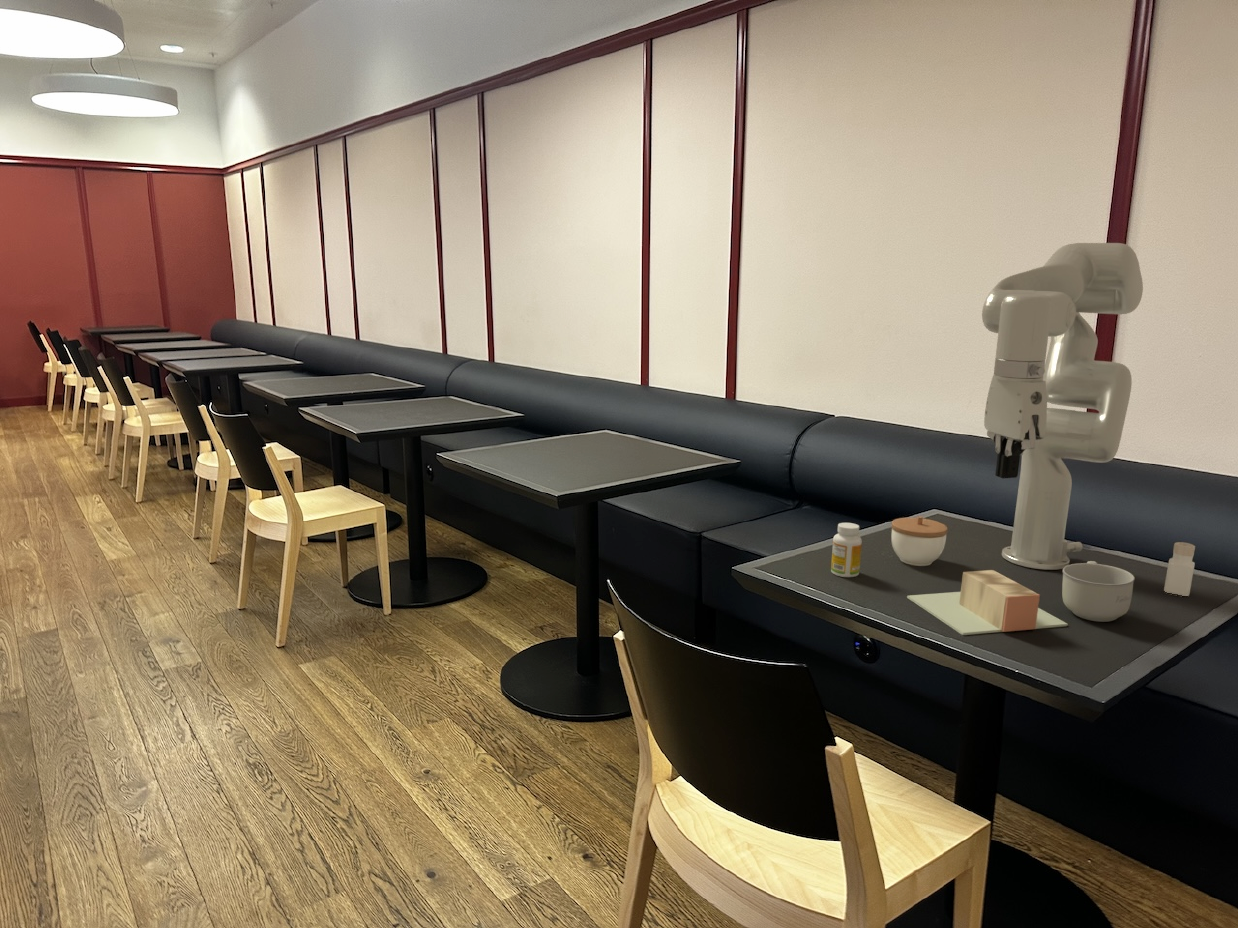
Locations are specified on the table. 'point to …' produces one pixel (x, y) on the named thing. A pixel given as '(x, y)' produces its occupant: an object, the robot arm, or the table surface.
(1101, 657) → the table surface
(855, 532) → the supplement bottle
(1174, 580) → the pepper shaker
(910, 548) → the lidded jar
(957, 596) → the sage mat
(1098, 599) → the teacup
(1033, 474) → the robot arm
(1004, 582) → the maple block
